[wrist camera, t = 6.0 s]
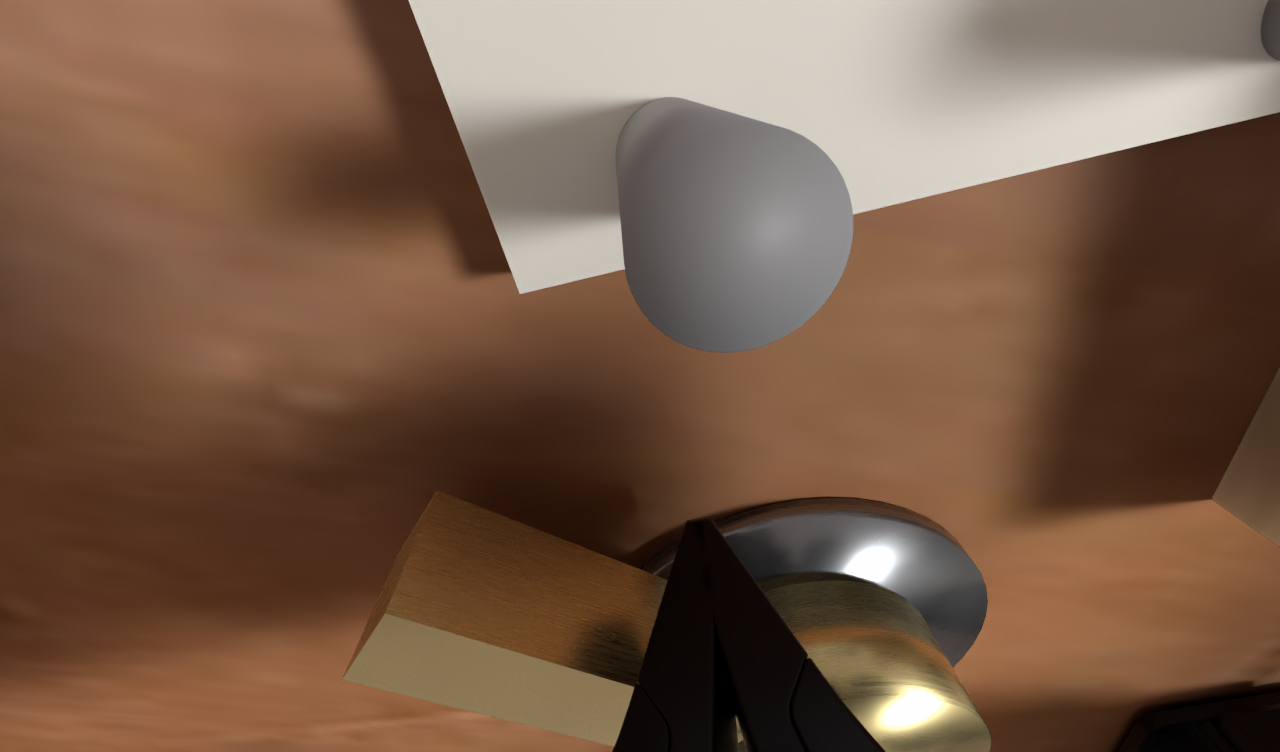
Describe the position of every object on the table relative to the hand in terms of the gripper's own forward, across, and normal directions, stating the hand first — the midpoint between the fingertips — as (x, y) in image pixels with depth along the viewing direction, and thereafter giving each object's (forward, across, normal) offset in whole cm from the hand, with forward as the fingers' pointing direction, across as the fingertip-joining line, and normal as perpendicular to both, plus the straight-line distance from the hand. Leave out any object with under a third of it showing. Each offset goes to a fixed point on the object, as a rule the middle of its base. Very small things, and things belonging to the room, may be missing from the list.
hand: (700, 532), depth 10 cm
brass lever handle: (0, +1, +3) cm, 3 cm away
